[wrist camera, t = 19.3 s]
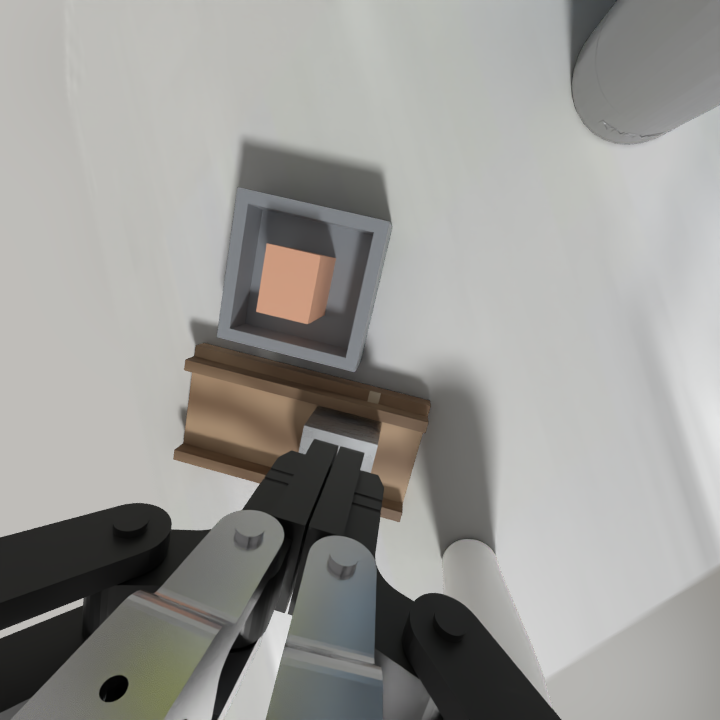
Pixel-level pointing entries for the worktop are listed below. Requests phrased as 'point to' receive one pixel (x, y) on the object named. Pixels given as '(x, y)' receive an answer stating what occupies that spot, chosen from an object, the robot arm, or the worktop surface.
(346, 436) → the block
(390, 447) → the guide board
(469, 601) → the white cylinder
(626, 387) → the worktop surface
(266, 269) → the block
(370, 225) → the tray
